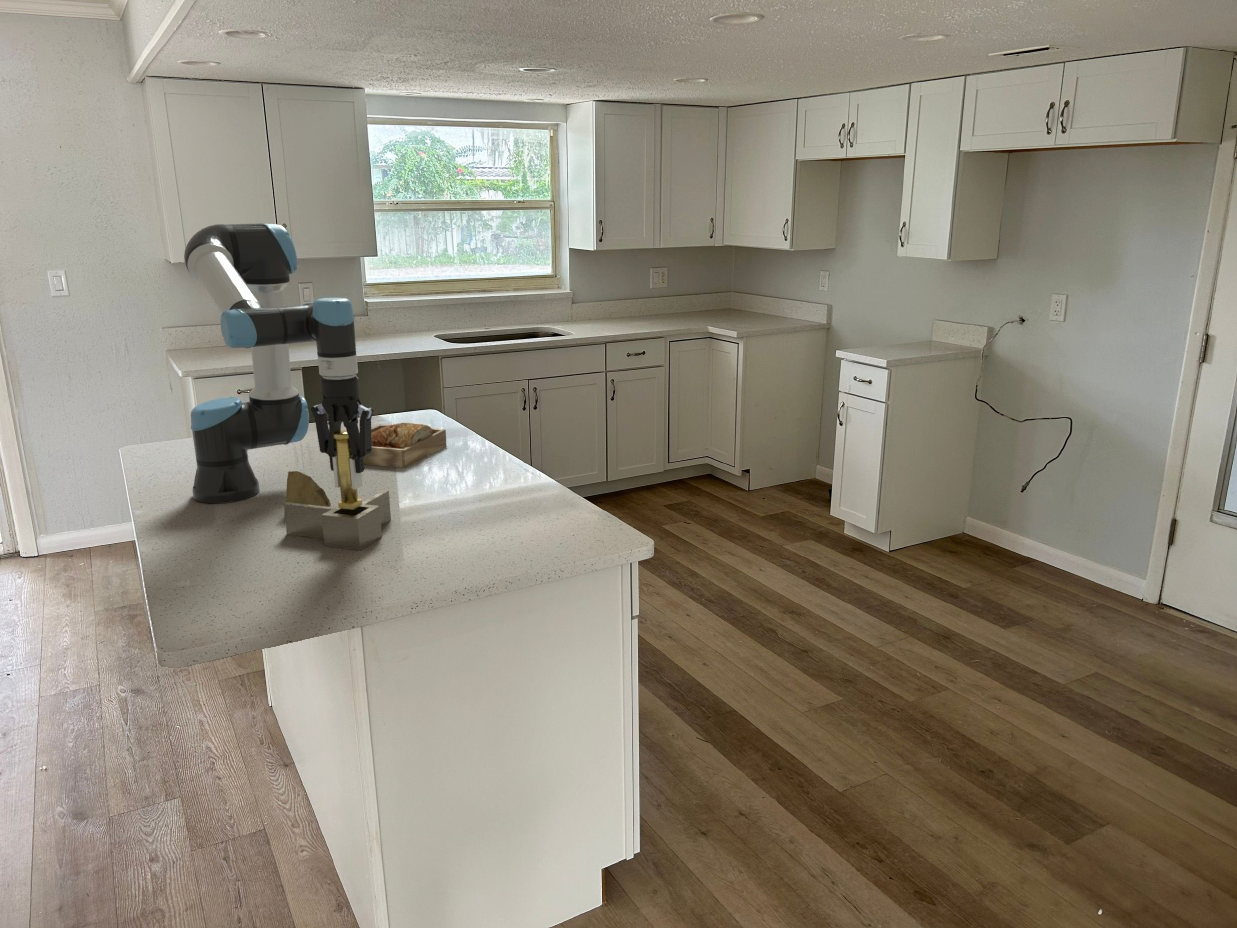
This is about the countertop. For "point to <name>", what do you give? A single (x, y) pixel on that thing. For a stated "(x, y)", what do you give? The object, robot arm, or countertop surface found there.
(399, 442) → the bread
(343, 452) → the hinge pin
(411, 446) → the bread crate
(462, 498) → the countertop surface
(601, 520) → the countertop surface
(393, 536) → the countertop surface
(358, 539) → the hinge
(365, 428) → the robot arm
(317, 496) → the rock
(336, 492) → the countertop surface
